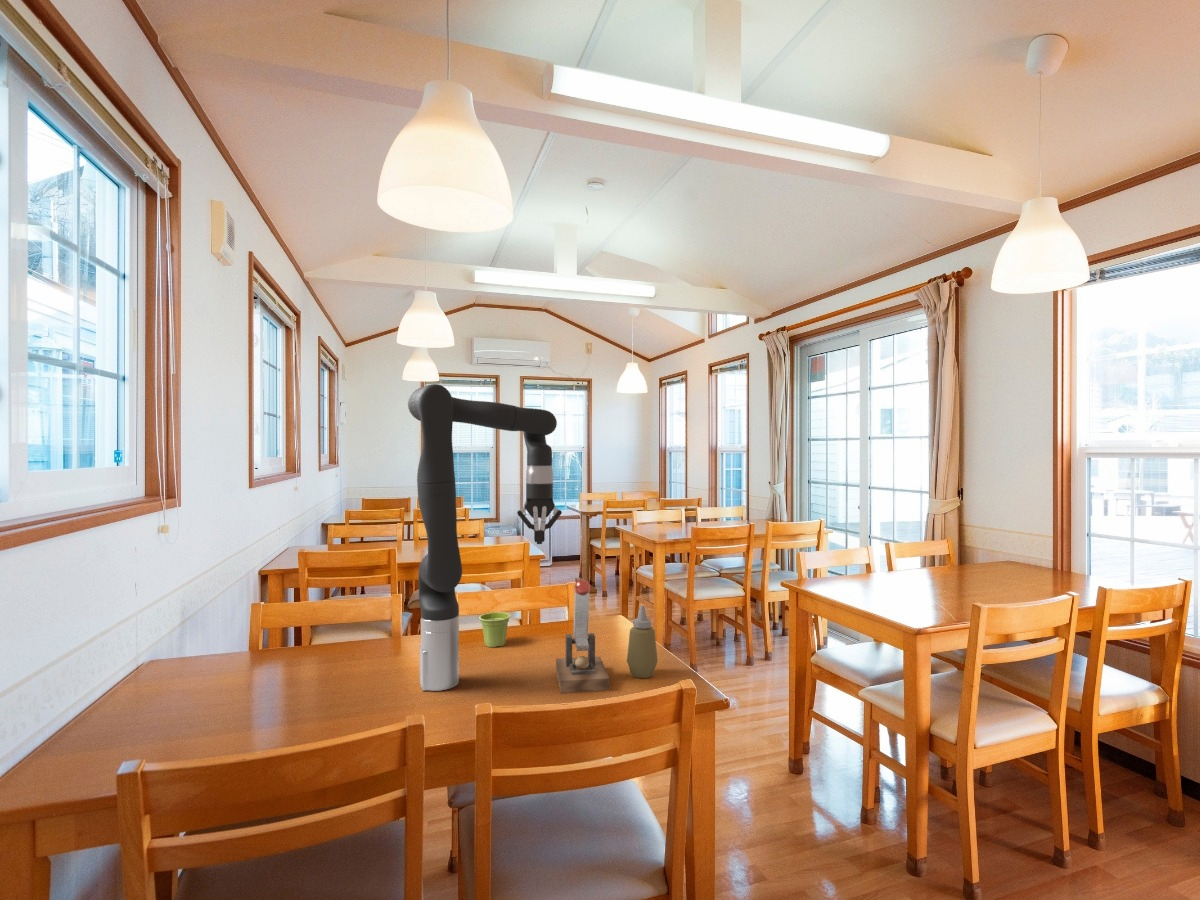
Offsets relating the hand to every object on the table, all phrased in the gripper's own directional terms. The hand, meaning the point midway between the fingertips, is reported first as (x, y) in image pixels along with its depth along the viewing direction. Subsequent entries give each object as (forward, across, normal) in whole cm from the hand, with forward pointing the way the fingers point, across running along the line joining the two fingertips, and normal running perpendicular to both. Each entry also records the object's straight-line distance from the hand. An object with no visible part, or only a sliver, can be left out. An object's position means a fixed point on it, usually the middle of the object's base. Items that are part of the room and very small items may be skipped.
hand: (539, 543), depth 169 cm
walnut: (+30, +10, -16) cm, 36 cm away
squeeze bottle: (+33, +26, -14) cm, 45 cm away
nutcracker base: (+33, +10, -15) cm, 38 cm away
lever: (+24, +10, -14) cm, 29 cm away
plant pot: (+33, -13, +17) cm, 40 cm away
